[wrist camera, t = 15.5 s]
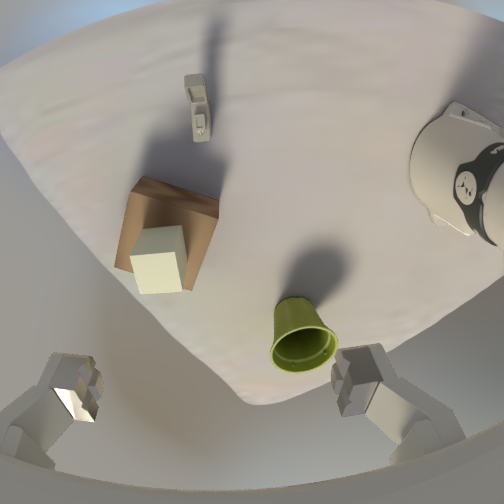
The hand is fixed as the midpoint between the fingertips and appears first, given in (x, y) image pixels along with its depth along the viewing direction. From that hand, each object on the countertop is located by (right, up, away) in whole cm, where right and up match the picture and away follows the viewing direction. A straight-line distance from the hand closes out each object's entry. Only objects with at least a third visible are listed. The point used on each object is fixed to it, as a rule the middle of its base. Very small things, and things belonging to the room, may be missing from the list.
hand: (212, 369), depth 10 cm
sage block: (-8, +5, +26) cm, 27 cm away
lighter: (-4, +20, +24) cm, 32 cm away
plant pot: (+8, -5, +39) cm, 41 cm away
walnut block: (-9, +8, +31) cm, 33 cm away
